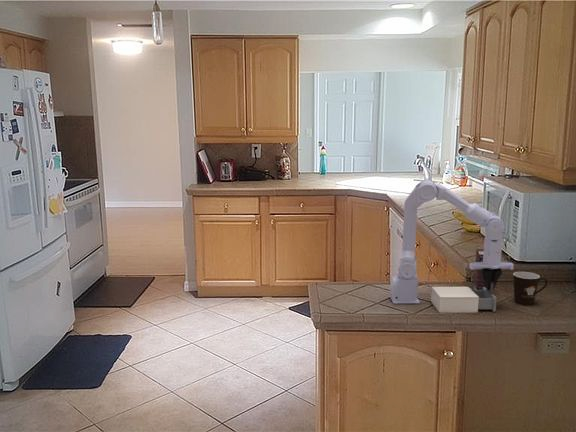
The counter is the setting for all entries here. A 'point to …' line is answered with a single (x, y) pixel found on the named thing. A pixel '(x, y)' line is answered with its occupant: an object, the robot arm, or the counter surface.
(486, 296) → the tray
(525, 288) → the coffee mug
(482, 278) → the supplement box
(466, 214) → the robot arm
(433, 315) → the counter surface
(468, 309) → the sleeve
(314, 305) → the counter surface
